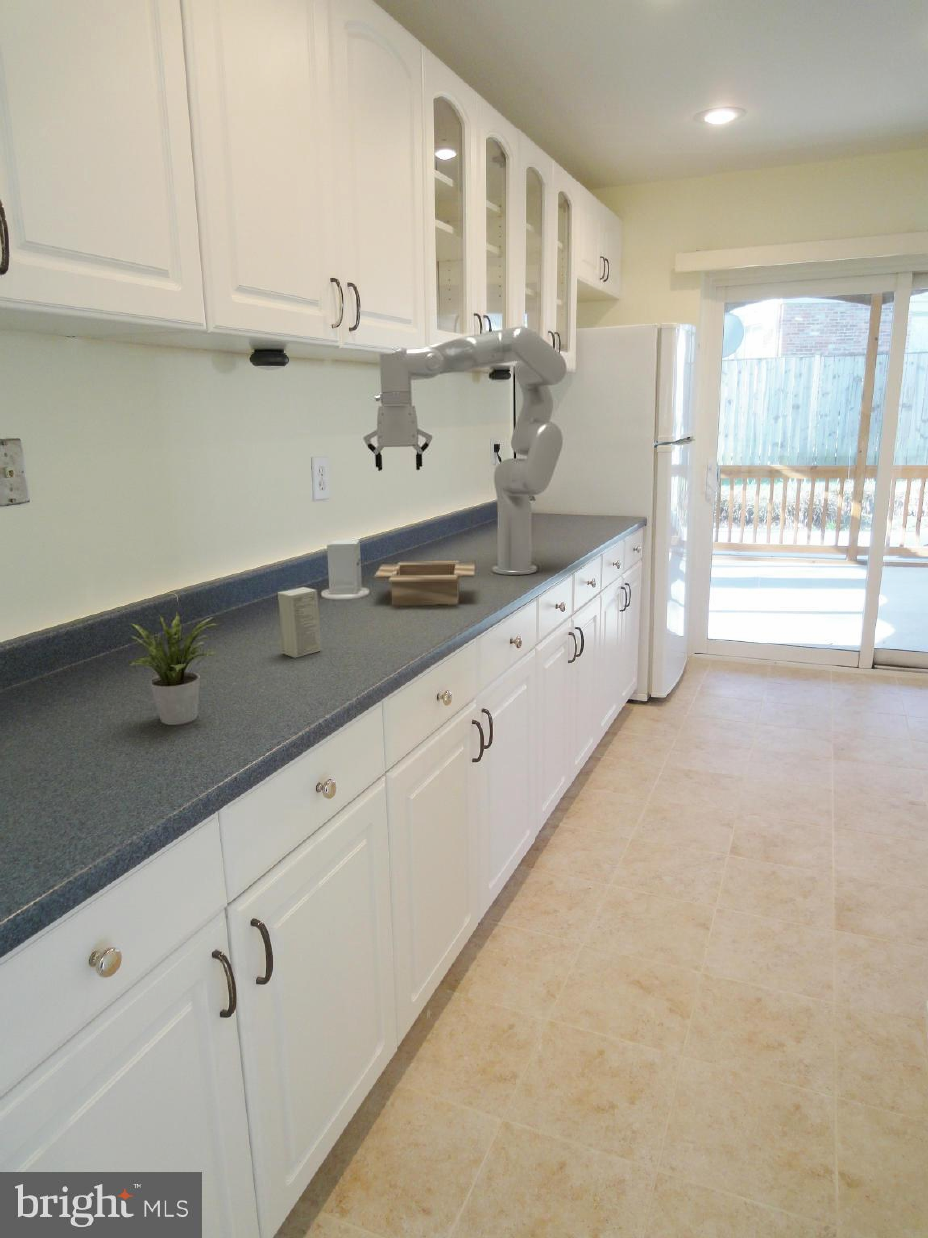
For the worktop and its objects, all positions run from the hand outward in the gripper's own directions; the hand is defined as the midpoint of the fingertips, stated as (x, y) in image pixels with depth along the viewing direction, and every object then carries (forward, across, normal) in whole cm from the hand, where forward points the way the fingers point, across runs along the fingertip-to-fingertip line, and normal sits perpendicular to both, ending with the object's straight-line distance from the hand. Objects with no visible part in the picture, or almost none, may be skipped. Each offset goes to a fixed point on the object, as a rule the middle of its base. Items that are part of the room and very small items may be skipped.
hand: (399, 470), depth 205 cm
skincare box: (+31, -14, -60) cm, 69 cm away
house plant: (+31, -24, -95) cm, 103 cm away
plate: (+30, -14, -8) cm, 34 cm away
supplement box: (+30, -14, -8) cm, 34 cm away
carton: (+30, +7, -13) cm, 34 cm away
